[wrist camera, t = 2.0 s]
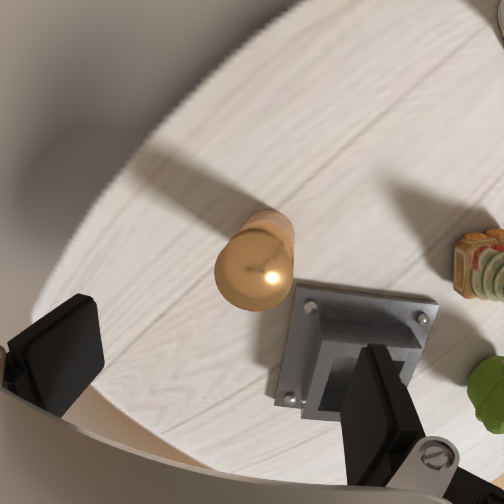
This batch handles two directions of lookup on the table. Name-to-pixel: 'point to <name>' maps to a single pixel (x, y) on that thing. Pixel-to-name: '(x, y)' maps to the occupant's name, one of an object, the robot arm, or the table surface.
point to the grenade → (488, 393)
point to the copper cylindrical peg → (257, 262)
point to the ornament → (480, 265)
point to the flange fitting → (345, 344)
